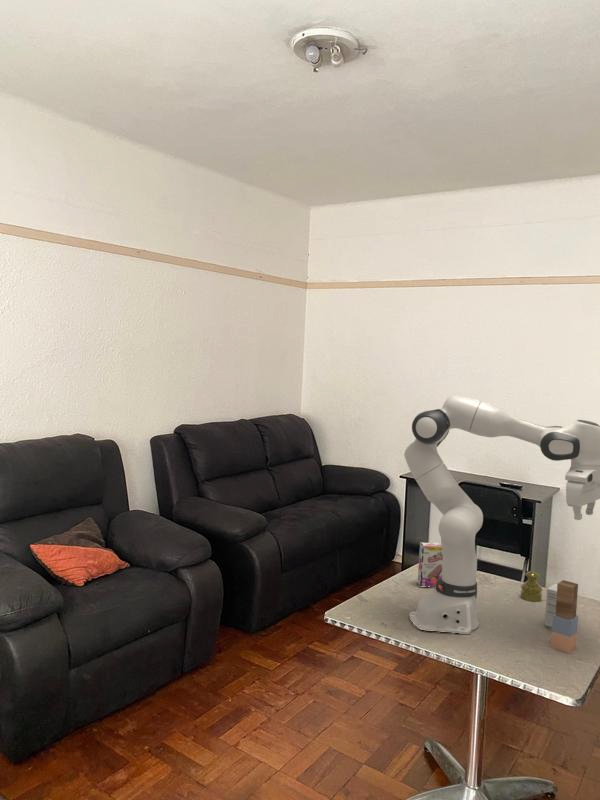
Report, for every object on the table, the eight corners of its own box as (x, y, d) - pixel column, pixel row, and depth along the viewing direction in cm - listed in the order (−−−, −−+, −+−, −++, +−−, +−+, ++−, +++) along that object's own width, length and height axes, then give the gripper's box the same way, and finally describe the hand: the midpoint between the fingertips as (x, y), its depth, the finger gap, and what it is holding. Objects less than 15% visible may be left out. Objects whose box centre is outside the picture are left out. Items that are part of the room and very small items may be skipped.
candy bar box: (420, 588, 241) (422, 545, 240) (417, 583, 246) (419, 541, 245) (449, 588, 242) (451, 546, 240) (445, 583, 247) (447, 542, 245)
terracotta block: (569, 653, 191) (570, 637, 191) (550, 647, 195) (551, 631, 194) (576, 647, 195) (577, 631, 195) (558, 641, 199) (559, 626, 198)
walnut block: (570, 620, 191) (572, 587, 190) (555, 615, 194) (557, 583, 193) (576, 616, 194) (578, 584, 193) (561, 611, 197) (563, 580, 197)
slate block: (570, 637, 191) (571, 621, 190) (552, 631, 194) (553, 615, 194) (577, 631, 195) (578, 616, 194) (559, 626, 198) (560, 610, 198)
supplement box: (553, 619, 216) (555, 583, 215) (575, 626, 211) (578, 589, 210) (543, 625, 211) (546, 588, 210) (566, 632, 205) (568, 594, 205)
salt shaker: (535, 594, 239) (536, 568, 238) (545, 601, 231) (547, 575, 231) (516, 594, 238) (518, 568, 237) (526, 602, 230) (528, 575, 230)
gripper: (587, 467, 206) (585, 510, 207) (562, 475, 191) (560, 520, 192) (608, 470, 202) (606, 513, 203) (584, 478, 187) (582, 524, 188)
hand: (583, 517), depth 197 cm, fingers open, 8 cm apart
